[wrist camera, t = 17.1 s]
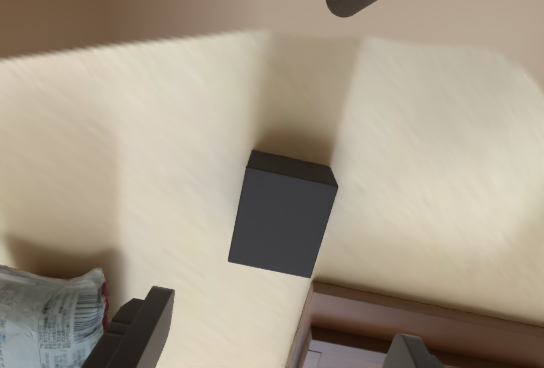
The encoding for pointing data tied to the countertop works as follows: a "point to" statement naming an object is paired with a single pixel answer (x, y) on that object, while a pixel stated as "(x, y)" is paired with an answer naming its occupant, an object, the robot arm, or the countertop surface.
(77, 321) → the packaged food
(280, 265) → the dark gray block
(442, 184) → the countertop surface
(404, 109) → the countertop surface
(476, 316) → the brown base tray
